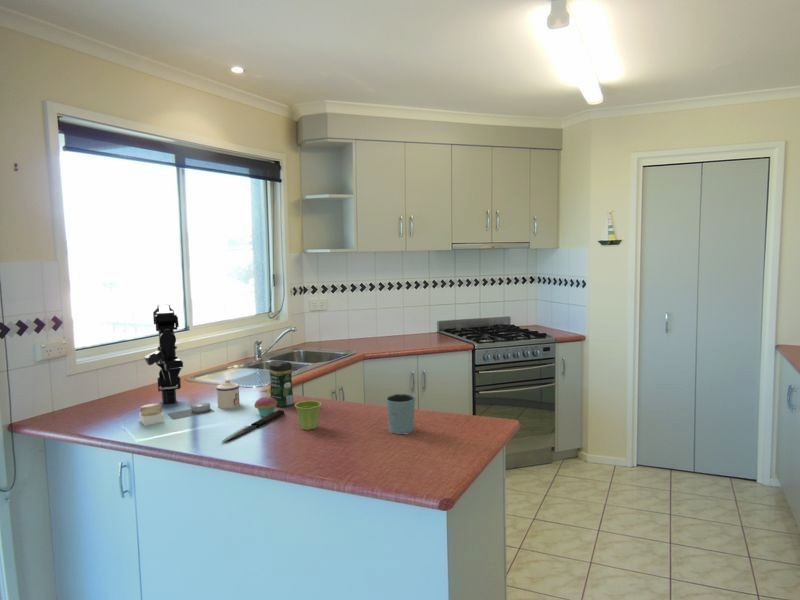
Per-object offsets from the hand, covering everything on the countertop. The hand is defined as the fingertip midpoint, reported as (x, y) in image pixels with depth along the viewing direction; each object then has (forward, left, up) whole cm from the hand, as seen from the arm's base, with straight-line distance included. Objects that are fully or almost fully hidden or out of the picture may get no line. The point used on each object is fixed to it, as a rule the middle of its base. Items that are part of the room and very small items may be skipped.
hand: (169, 382), depth 221 cm
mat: (+5, +6, -13) cm, 15 cm away
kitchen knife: (+37, +18, -14) cm, 44 cm away
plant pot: (+51, +34, -13) cm, 63 cm away
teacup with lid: (+4, +22, -13) cm, 26 cm away
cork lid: (+7, -9, -9) cm, 14 cm away
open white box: (+7, -9, -13) cm, 17 cm away
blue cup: (+76, +57, -13) cm, 96 cm away
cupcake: (+26, +29, -13) cm, 41 cm away
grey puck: (+5, +10, -12) cm, 16 cm away
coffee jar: (+16, +40, -13) cm, 45 cm away
